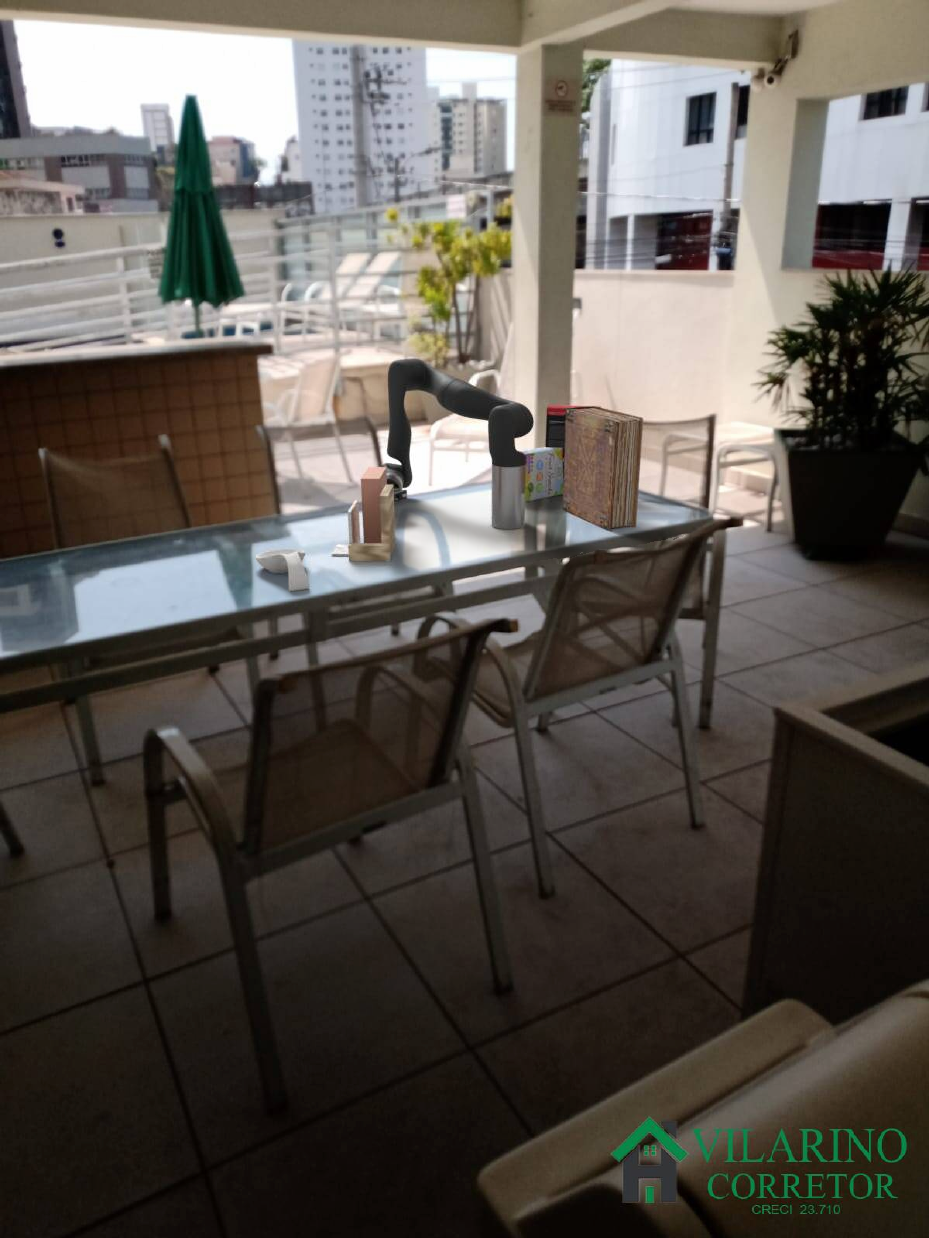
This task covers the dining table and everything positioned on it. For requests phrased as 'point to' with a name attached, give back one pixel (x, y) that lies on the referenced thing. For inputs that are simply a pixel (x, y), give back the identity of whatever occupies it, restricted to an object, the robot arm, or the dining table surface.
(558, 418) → the graphics card box
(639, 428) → the book
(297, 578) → the spoon rest
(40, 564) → the dining table surface
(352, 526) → the bookend
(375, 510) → the book
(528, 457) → the snack box
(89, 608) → the dining table surface
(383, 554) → the board
